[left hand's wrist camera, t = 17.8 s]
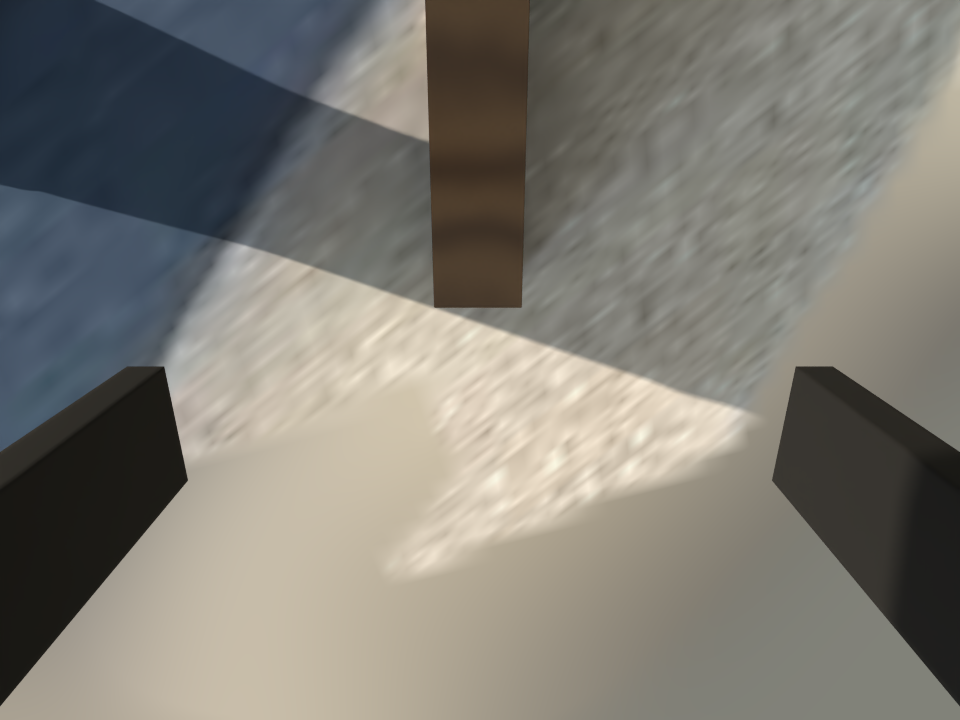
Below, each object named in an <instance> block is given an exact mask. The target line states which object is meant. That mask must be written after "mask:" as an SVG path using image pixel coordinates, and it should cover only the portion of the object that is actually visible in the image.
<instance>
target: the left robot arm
mask: <svg viewBox="0 0 960 720" xmlns="http://www.w3.org/2000/svg"><path fill="white" fill-rule="evenodd" d="M187 481H188V478H187V474H186V469H185V464H184V459H183V455H182V450H181V445H180V440H179V435H178V431H177V426H176V421H175V416H174V411H173V407H172V402H171V397H170V392H169V388H168V383H167V378H166V373H165V368H164V367H126V368H124V369H123V370H121V371H120V372H119V373H117V374H116V375H114V376H113V377H111V378H110V379H108V380H107V381H105V382H104V383H102V384H101V385H99V386H98V387H96V388H95V389H93V390H92V391H90V392H89V393H87V394H86V395H84V396H83V397H81V398H80V399H78V400H77V401H75V402H74V403H72V404H71V405H69V406H68V407H66V408H65V409H64V410H62V411H61V412H59V413H58V414H56V415H55V416H53V417H52V418H50V419H49V420H47V421H46V422H44V423H43V424H41V425H40V426H38V427H37V428H35V429H34V430H32V431H31V432H29V433H28V434H26V435H25V436H23V437H22V438H20V439H19V440H17V441H16V442H14V443H13V444H12V445H10V446H9V447H7V448H6V449H4V450H3V451H1V452H0V706H1V705H2V703H3V702H4V701H5V700H6V699H7V697H8V696H9V695H10V694H11V693H12V691H13V690H14V689H15V688H16V686H17V685H18V684H19V683H20V682H21V681H22V679H23V678H24V677H25V676H26V675H27V673H28V672H29V671H30V670H31V668H32V667H33V666H34V665H35V664H36V662H37V661H38V660H39V659H40V658H41V656H42V655H43V654H44V653H45V652H46V650H47V649H48V648H49V647H50V646H51V644H52V643H53V642H54V641H55V640H56V638H57V637H58V636H59V635H60V634H61V632H62V631H63V630H64V629H65V628H66V626H67V625H68V624H69V623H70V622H71V620H72V619H73V618H74V617H75V616H76V614H77V613H78V612H79V611H80V609H81V608H82V607H83V606H84V605H85V604H86V602H87V601H88V600H89V599H90V598H91V596H92V595H93V594H94V593H95V592H96V590H97V589H98V588H99V587H100V586H101V584H102V583H103V582H104V581H105V579H106V578H107V577H108V576H109V575H110V573H111V572H112V571H113V570H114V569H115V568H116V566H117V565H118V564H119V563H120V561H121V560H122V559H123V558H124V557H125V555H126V554H127V553H128V552H129V551H130V549H131V548H132V547H133V546H134V545H135V543H136V542H137V541H138V540H139V539H140V537H141V536H142V535H143V534H144V533H145V531H146V530H147V529H148V528H149V527H150V525H151V524H152V523H153V522H154V521H155V519H156V518H157V517H158V516H159V515H160V513H161V512H162V511H163V510H164V509H165V507H166V506H167V505H168V504H169V503H170V501H171V500H172V499H173V498H174V496H175V495H176V494H177V493H178V492H179V491H180V489H181V488H182V487H183V486H184V485H185V483H186V482H187ZM772 481H773V482H774V483H775V485H776V486H777V487H778V488H779V489H780V490H781V492H782V493H783V494H784V495H785V497H786V498H787V499H788V500H789V501H790V503H791V504H792V505H793V506H794V507H795V509H796V510H797V511H798V512H799V513H800V515H801V516H802V517H803V518H804V519H805V521H806V522H807V523H808V524H809V525H810V527H811V528H812V529H813V530H814V531H815V533H816V534H817V535H818V536H819V537H820V539H821V540H822V541H823V542H824V543H825V545H826V546H827V547H828V548H829V549H830V551H831V552H832V553H833V554H834V555H835V557H836V558H837V559H838V560H839V561H840V563H841V564H842V565H843V566H844V568H845V569H846V570H847V571H848V572H849V573H850V575H851V576H852V577H853V578H854V580H855V581H856V582H857V583H858V584H859V586H860V587H861V588H862V589H863V590H864V592H865V593H866V594H867V595H868V596H869V598H870V599H871V600H872V601H873V602H874V604H875V605H876V606H877V607H878V608H879V610H880V611H881V612H882V613H883V614H884V616H885V617H886V618H887V619H888V620H889V622H890V623H891V624H892V625H893V626H894V628H895V629H896V630H897V631H898V632H899V634H900V635H901V636H902V637H903V638H904V640H905V641H906V642H907V643H908V644H909V646H910V647H911V648H912V649H913V650H914V652H915V653H916V654H917V655H918V656H919V658H920V659H921V660H922V661H923V662H924V664H925V665H926V666H927V667H928V668H929V670H930V671H931V672H932V673H933V675H934V676H935V677H936V678H937V679H938V681H939V682H940V683H941V684H942V685H943V687H944V688H945V689H946V690H947V691H948V692H949V694H950V695H951V696H952V697H953V698H954V700H955V701H956V702H957V703H958V705H959V706H960V452H959V451H957V450H956V449H954V448H953V447H951V446H950V445H948V444H947V443H945V442H944V441H943V440H941V439H940V438H938V437H937V436H935V435H934V434H932V433H931V432H929V431H928V430H926V429H925V428H923V427H922V426H920V425H919V424H917V423H916V422H914V421H913V420H911V419H910V418H908V417H907V416H905V415H904V414H902V413H901V412H899V411H898V410H896V409H895V408H893V407H892V406H891V405H889V404H888V403H886V402H885V401H883V400H882V399H880V398H879V397H877V396H876V395H874V394H873V393H871V392H870V391H868V390H867V389H865V388H864V387H862V386H861V385H859V384H858V383H856V382H855V381H853V380H852V379H850V378H849V377H847V376H846V375H844V374H843V373H841V372H840V371H839V370H837V369H836V368H834V367H796V368H795V373H794V378H793V383H792V388H791V392H790V397H789V402H788V407H787V411H786V416H785V421H784V426H783V431H782V436H781V440H780V445H779V450H778V455H777V459H776V464H775V469H774V474H773V479H772Z"/></svg>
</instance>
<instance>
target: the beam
mask: <svg viewBox="0 0 960 720" xmlns="http://www.w3.org/2000/svg"><path fill="white" fill-rule="evenodd" d="M529 7H530V0H425V8H426V43H427V77H428V111H429V145H430V180H431V214H432V248H433V283H434V307H435V308H521V307H522V272H523V234H524V197H525V159H526V121H527V83H528V45H529Z"/></svg>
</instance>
